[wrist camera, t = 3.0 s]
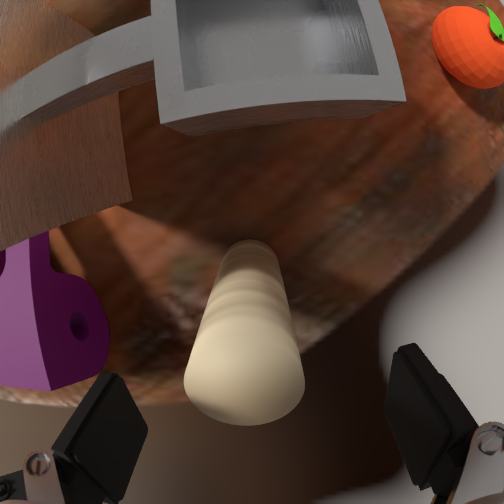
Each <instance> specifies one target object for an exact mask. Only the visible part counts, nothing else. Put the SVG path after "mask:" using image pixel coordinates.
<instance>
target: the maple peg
mask: <svg viewBox="0 0 504 504" xmlns="http://www.w3.org/2000/svg"><path fill="white" fill-rule="evenodd" d="M184 387H185V391H186V393H187V395H188V397H189V399H190V400H191V402H192V403H193V404H194V405H195V406H196V407H197V408H198V409H199V410H200V411H202V412H203V413H204V414H206V415H208V416H210V417H211V418H213V419H216V420H218V421H221V422H225V423H229V424H234V425H259V424H264V423H268V422H271V421H274V420H277V419H279V418H281V417H283V416H285V415H286V414H287V413H289V412H290V411H291V410H293V409H294V408H295V406H296V405H297V404H298V403H299V401H300V400H301V398H302V396H303V393H304V389H305V379H304V374H303V369H302V365H301V360H300V355H299V351H298V346H297V341H296V337H295V332H294V328H293V323H292V319H291V314H290V310H289V306H288V301H287V297H286V292H285V288H284V284H283V279H282V275H281V271H280V267H279V262H278V259H277V256H276V254H275V252H274V251H273V250H272V249H271V248H270V247H269V246H268V245H267V244H265V243H263V242H261V241H258V240H252V239H248V240H242V241H239V242H237V243H235V244H233V245H232V246H231V247H230V248H229V249H228V250H227V251H226V253H225V254H224V256H223V259H222V262H221V265H220V268H219V271H218V274H217V276H216V279H215V282H214V285H213V288H212V291H211V294H210V297H209V300H208V303H207V306H206V309H205V312H204V315H203V318H202V321H201V324H200V327H199V331H198V334H197V337H196V340H195V343H194V346H193V349H192V352H191V355H190V359H189V362H188V365H187V368H186V371H185V375H184Z"/></svg>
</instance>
